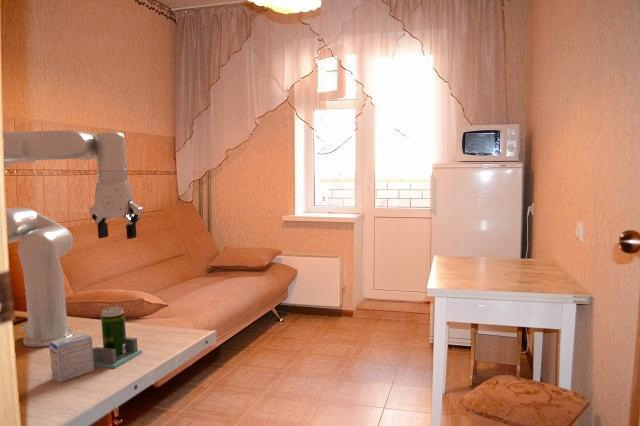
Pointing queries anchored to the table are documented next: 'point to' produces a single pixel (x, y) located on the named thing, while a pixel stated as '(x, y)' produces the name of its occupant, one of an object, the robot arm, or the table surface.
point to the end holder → (108, 355)
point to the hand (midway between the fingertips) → (117, 237)
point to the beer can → (114, 330)
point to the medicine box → (71, 357)
